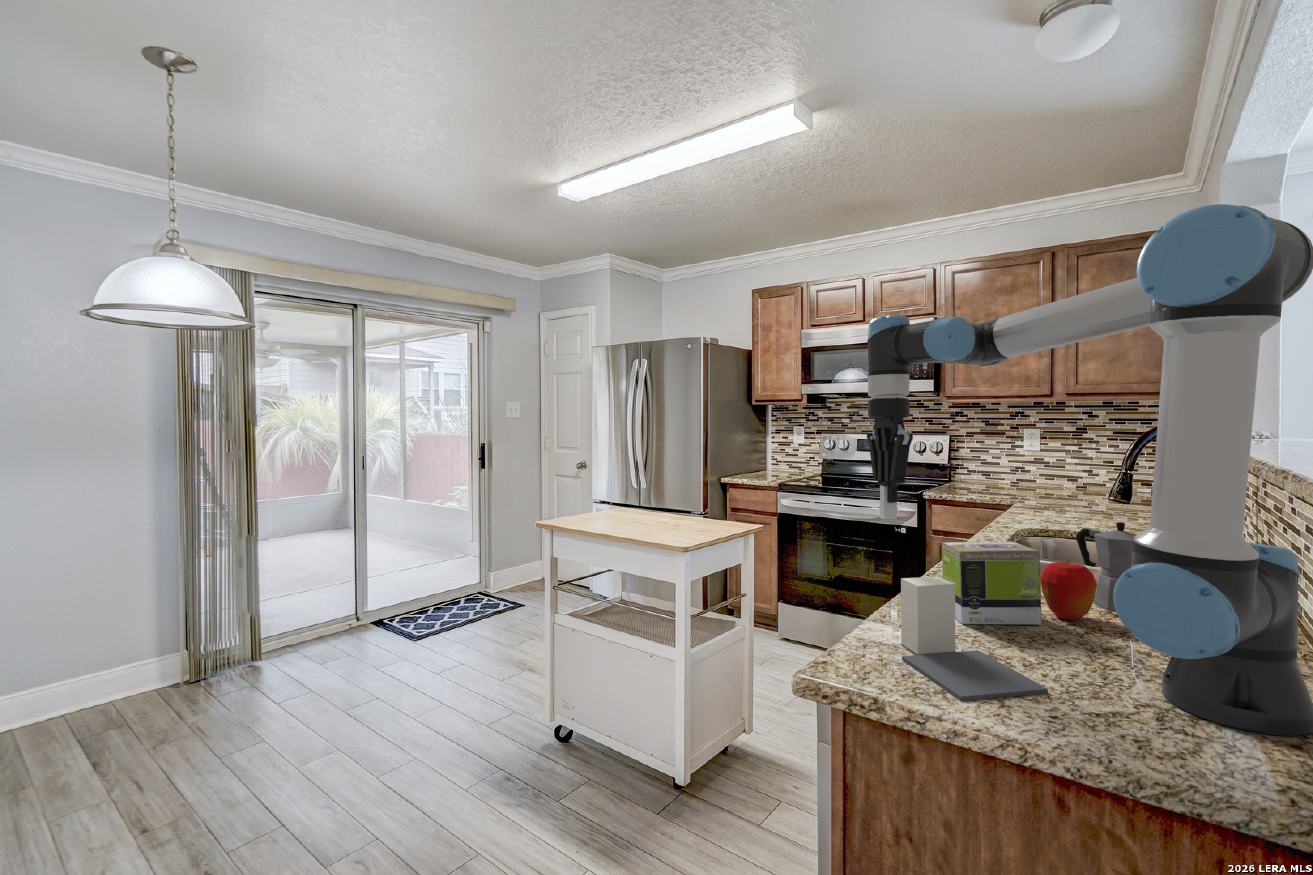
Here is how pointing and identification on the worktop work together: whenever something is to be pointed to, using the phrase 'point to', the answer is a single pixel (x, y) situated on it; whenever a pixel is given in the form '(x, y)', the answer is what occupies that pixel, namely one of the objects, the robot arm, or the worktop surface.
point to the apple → (1068, 589)
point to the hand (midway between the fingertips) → (888, 518)
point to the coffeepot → (1108, 559)
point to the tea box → (994, 582)
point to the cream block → (927, 615)
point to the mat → (973, 675)
